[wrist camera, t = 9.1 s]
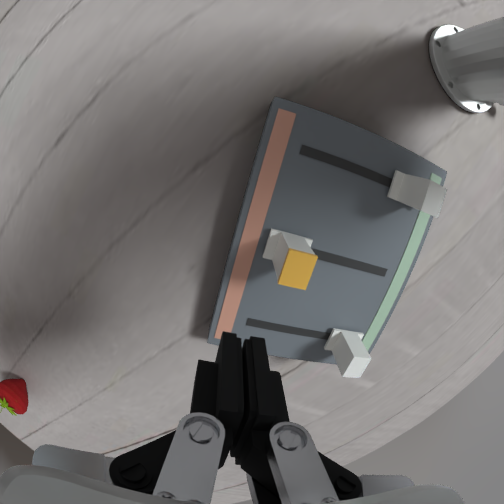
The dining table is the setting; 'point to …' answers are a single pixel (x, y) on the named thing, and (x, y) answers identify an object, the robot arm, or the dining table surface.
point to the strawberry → (14, 395)
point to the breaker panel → (321, 234)
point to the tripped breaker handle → (290, 258)
